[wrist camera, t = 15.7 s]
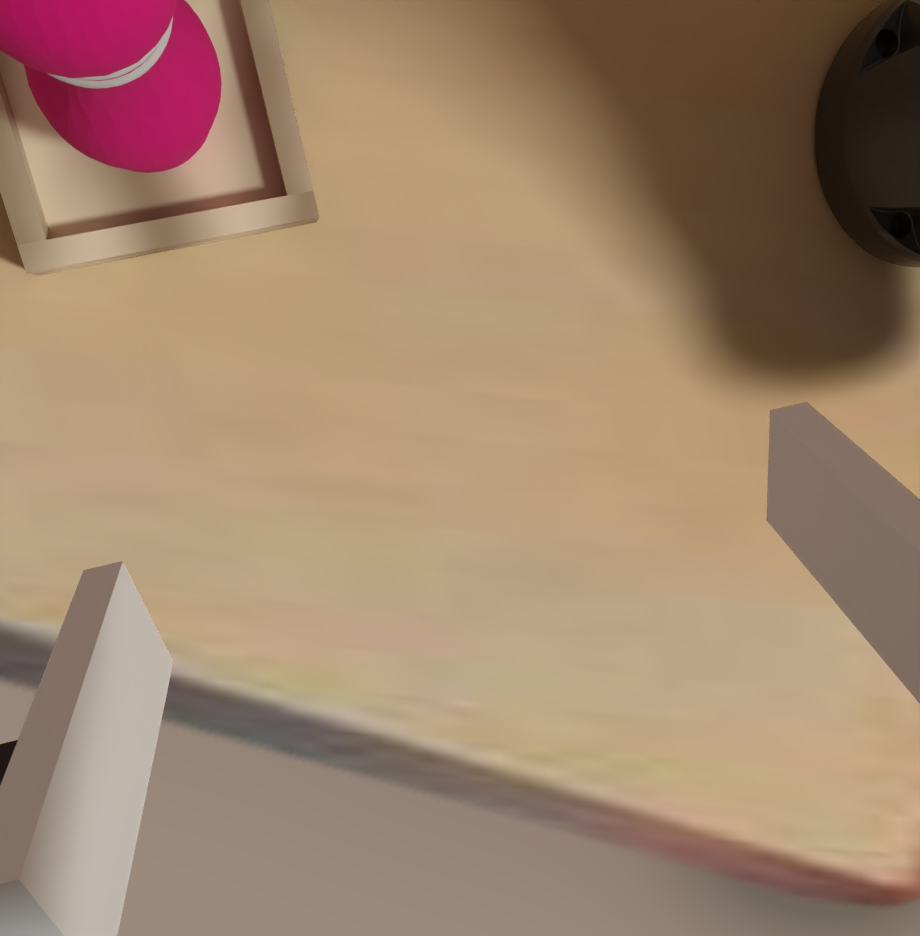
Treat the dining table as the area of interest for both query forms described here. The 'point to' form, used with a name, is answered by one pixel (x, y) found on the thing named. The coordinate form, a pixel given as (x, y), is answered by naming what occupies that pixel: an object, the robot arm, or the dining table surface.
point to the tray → (167, 192)
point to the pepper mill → (118, 76)
